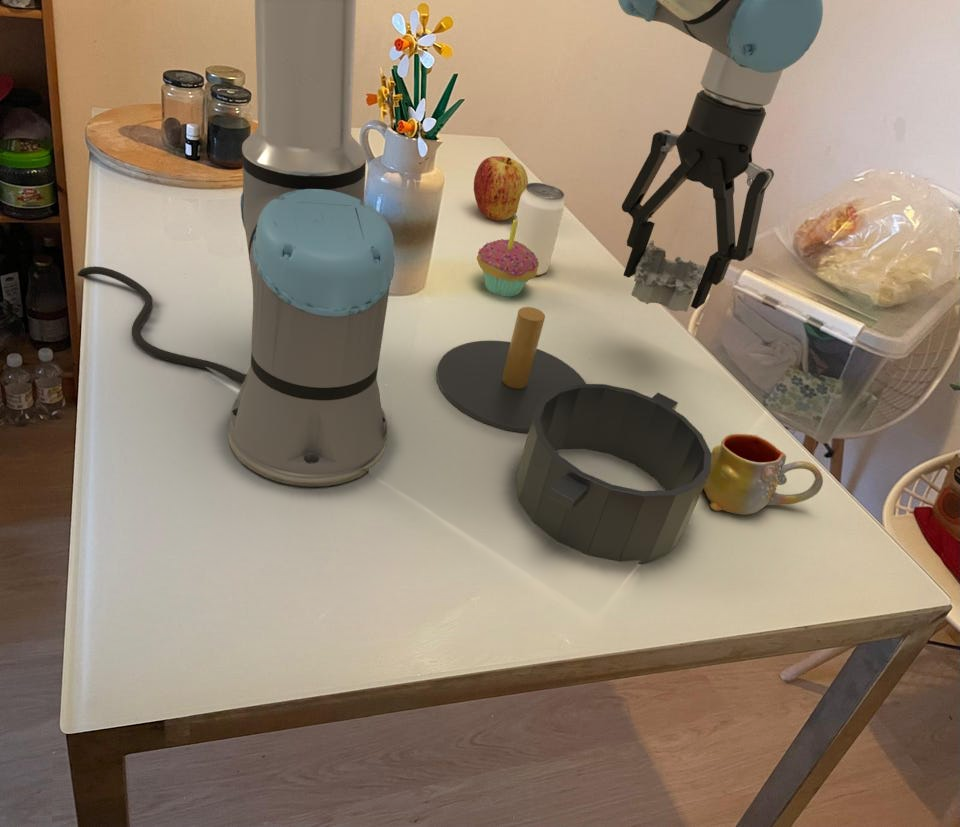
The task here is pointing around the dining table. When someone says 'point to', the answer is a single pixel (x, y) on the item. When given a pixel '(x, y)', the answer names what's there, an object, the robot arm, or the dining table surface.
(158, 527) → the dining table surface
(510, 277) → the cupcake
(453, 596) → the dining table surface
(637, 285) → the egg carton
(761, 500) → the mug
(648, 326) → the dining table surface
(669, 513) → the pot
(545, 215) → the can
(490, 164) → the apple
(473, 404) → the lid
